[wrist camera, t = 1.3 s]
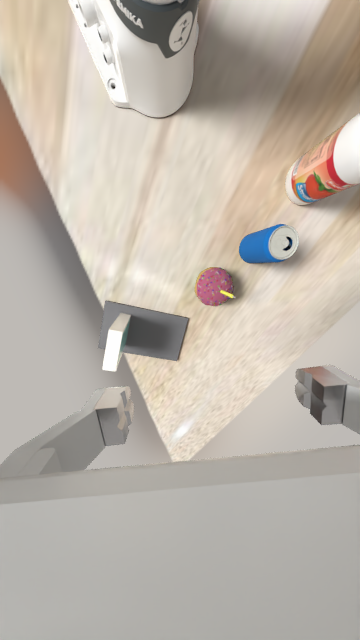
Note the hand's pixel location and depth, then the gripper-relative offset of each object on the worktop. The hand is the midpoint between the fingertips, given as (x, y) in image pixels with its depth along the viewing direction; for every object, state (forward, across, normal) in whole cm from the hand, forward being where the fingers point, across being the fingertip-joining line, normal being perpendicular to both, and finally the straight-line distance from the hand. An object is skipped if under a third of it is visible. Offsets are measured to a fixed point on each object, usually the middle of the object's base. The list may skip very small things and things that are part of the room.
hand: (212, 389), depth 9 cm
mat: (+36, +11, +7) cm, 39 cm away
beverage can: (+39, -16, -10) cm, 43 cm away
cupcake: (+38, -6, -2) cm, 39 cm away
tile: (+35, +16, +6) cm, 39 cm away
